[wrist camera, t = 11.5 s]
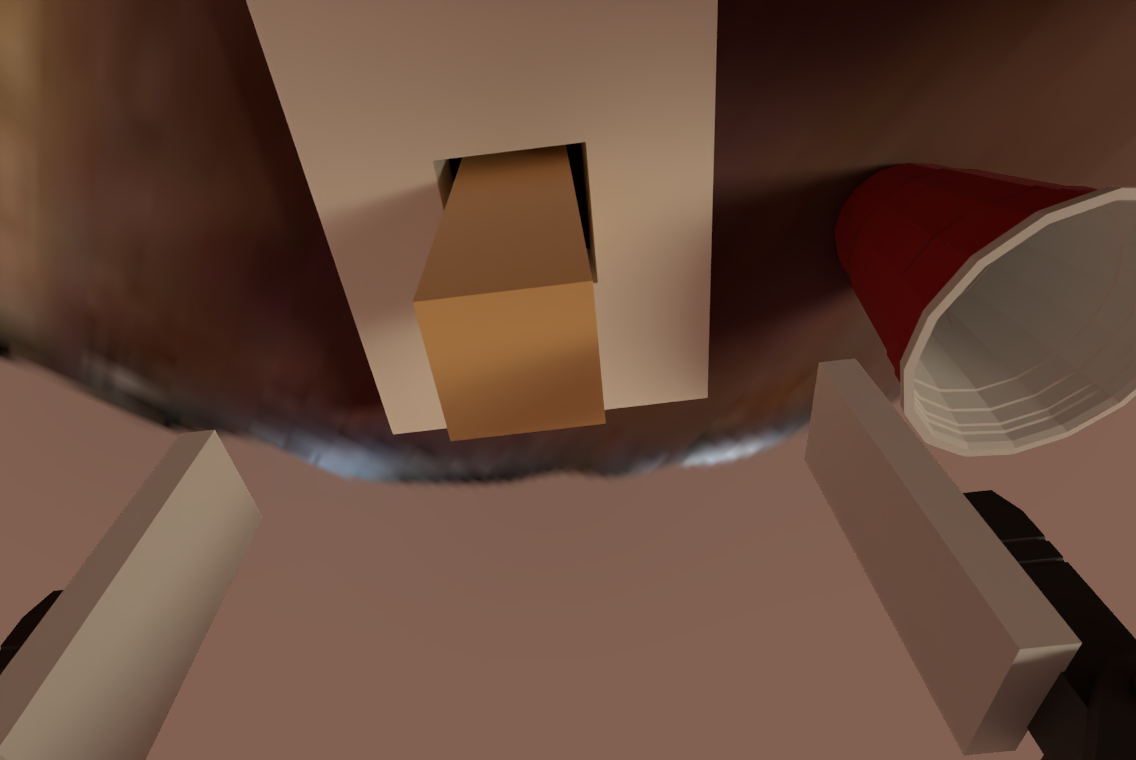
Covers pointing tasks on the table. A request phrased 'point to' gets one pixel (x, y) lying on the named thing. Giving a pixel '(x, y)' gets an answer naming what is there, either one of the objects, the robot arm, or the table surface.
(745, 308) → the table surface
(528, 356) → the plug block
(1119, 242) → the plastic cup
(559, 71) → the socket plate
